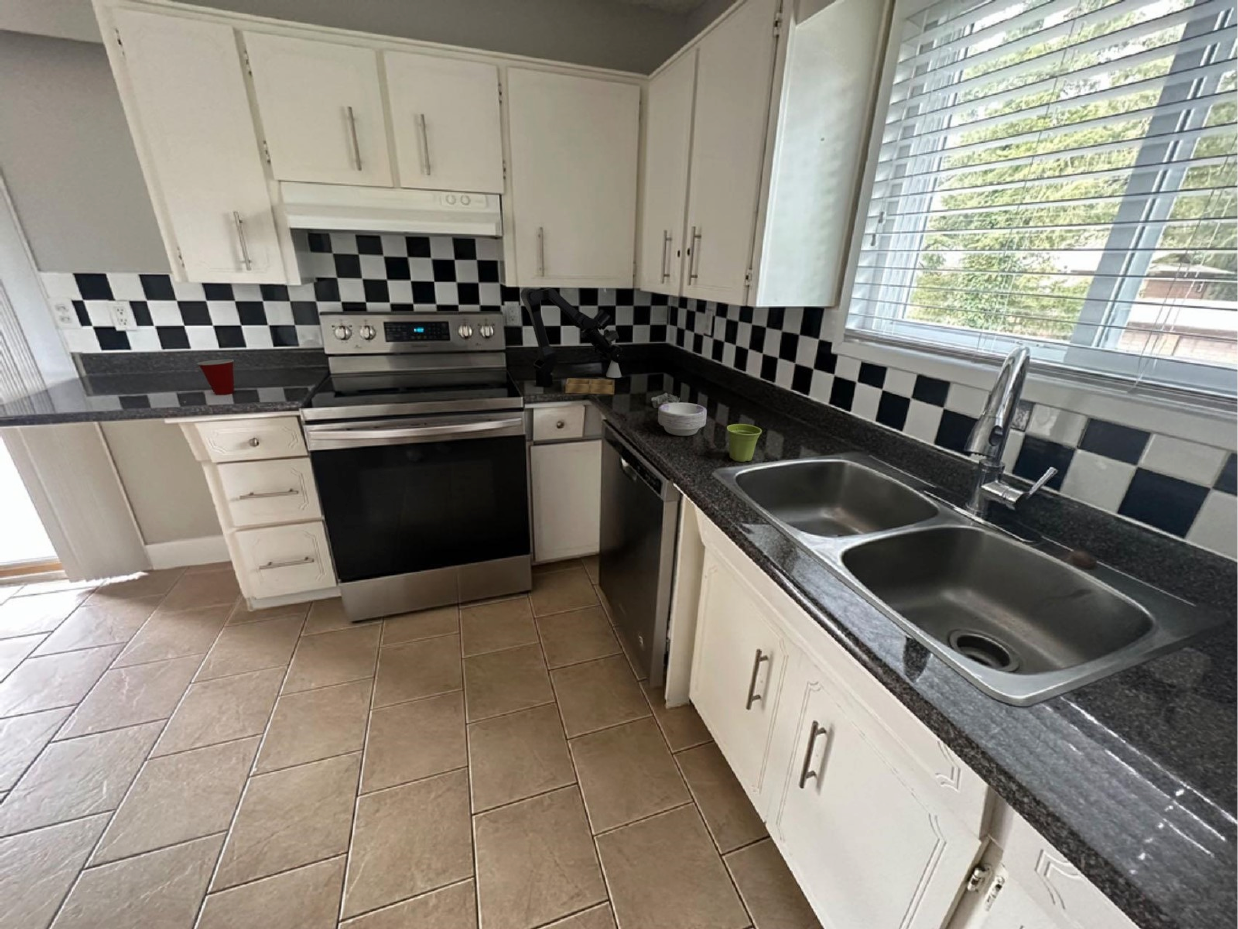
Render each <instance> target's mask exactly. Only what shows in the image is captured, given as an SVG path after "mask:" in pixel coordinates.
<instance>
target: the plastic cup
mask: <svg viewBox="0 0 1238 929" xmlns="http://www.w3.org/2000/svg"><path fill="white" fill-rule="evenodd" d="M234 362H235V359H233V358H228V359H227V358H226V359H225V358H224V359H223V358H222V359H212V360H205V361H199V362H196V365H198V367H199V368H200V369H201V371H202V373H203V375H204V377H205V379H206V380H207V382H208V385H209V386H210V388H211V390H212V392H213V393H214V395H216V396H224V395H230V394H233V393H235V377H234Z"/></svg>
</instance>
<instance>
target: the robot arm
mask: <svg viewBox="0 0 1238 929" xmlns="http://www.w3.org/2000/svg"><path fill="white" fill-rule="evenodd" d="M519 295H520V299H521V301H522V303H523V305H524V307H525V309H526V311H527V312H528V314H529V318H530V321H531V325H532V329H533V333H534V336H535V340H536V343H537V359H536V360H535V362H534V363H533V368H534V370H535V385H534V387H546V388H547V387H548V388H551V387H552V385H553V384H554V374H553V373H552V372H554V368H555V366H556V365H557V363H558V358H559V357H558V355H557V349H556V348H555V347H553V346H551V345H550V342H549V339H548V335H547V331H546V327H545V324H544V321H543V316H542V312H541V306H542V301H545V300H549V301H551V302H552V303H553V304H554V305H555V306H556V307H557V308H559V309H560V310H561V311H562V312H563V313H564V314H565V315H566V316H567V317H568V318H569V320H570V322H571V323H572V324H573V326H574V327H575V328H577V329H580V330H582V331H580V335H579V337H580V339H586V338H587V339H588V341H590V344H591V347H590V348H591V350H590V351H592V352H593V354H598V356H600V357H602V358H604V359H607V360H608V361H611V360H612V361H614V362H616V363H618V364H619V363H620V362H621V361H620V359H619V354H620V353H621V352H622V350H623V348H622V347H621V346H620V345H617V344H613V342H614V341H615V340H618V339H619V338H620V337H619V334H618V331H617V330H615V329H610V330H609V329H608V328H607V327H608V326H609V325H610V324H611V322H612V321H613V318H612V317H611V315H610V314H608V313H607V312H606V311H605V310H604V309H600V310H598V312H597V313H596V315H594V317H590V316H589V315H587V314H585V313H584V312H582V311H581V310H578V309H576V308H575V307H574V306H573V305H572V304H571V303H570V302H568V301H567V299H565V298H564V297H563V296H562V295H561V294H559V292H557V290H556V289H555V288H554V287H546V288H544V287H543V288H533V287H524V288H523V289H522V290H521V291H520V294H519ZM600 331H603V334H602V332H600ZM612 344H613V345H612ZM617 355H618V356H617Z"/></svg>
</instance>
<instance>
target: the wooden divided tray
mask: <svg viewBox="0 0 1238 929" xmlns="http://www.w3.org/2000/svg"><path fill="white" fill-rule="evenodd" d="M564 388H565V394H590V395H592V394H593V395H615V379H603V378H602V379H601V378H600V379H599V378H570V377H569V378H567V379H566V381H565V384H564Z"/></svg>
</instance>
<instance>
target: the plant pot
mask: <svg viewBox="0 0 1238 929" xmlns="http://www.w3.org/2000/svg"><path fill="white" fill-rule="evenodd" d="M726 430H727V434H728V440H729V441H728V444H729V445H728V446H729V459H732V460H733V461H735V462H740V463H744V462H750V461H752V460H753V456H754V452H755V450H756V445H757V442H758V439H759V437H760V436H761V434H762V432H763V430H762V429H761V428H760V427H758V426H755V425H751V424H745V423H735V424H734V423H733V424H729V425H727V427H726Z"/></svg>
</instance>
